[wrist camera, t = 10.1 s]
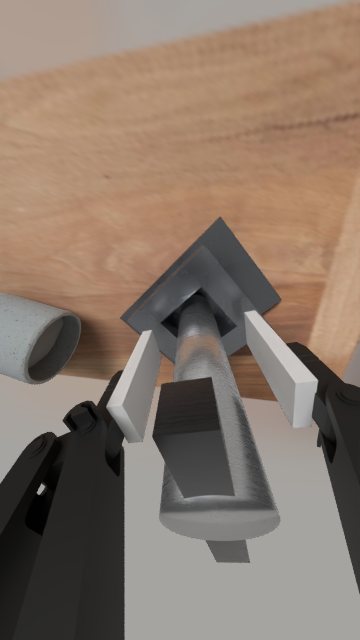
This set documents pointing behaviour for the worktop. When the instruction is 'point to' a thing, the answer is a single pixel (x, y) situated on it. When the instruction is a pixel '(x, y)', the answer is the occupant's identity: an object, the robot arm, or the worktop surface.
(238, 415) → the t key
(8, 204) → the worktop surface
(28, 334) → the ceramic mug
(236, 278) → the chuck block
